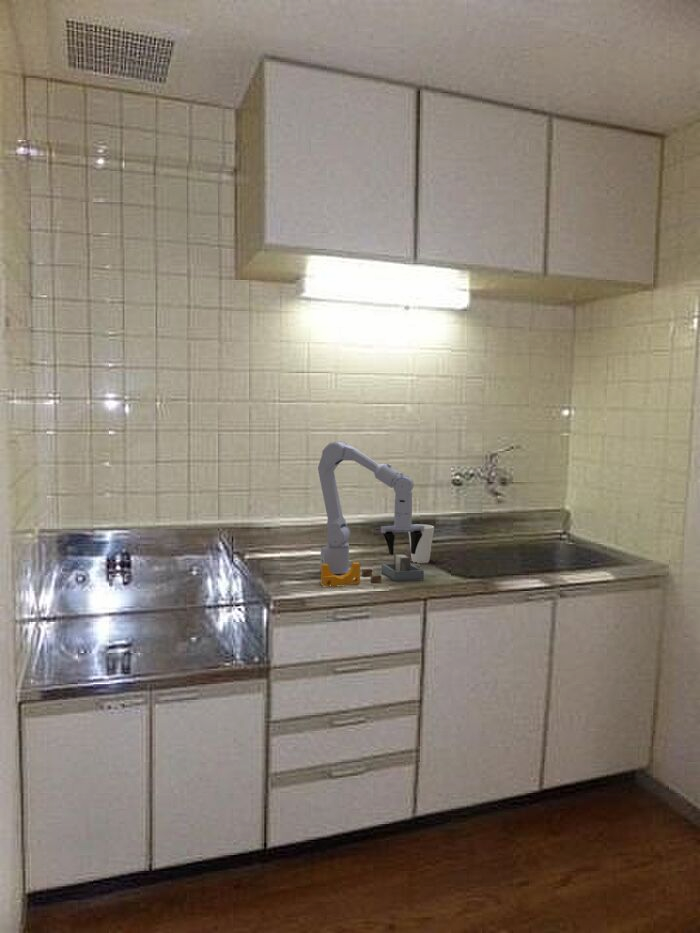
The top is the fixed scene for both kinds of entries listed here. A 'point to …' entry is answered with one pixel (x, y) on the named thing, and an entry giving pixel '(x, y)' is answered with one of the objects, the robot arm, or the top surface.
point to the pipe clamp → (335, 580)
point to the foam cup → (423, 545)
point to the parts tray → (402, 573)
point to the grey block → (401, 563)
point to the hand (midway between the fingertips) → (402, 553)
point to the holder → (369, 573)
